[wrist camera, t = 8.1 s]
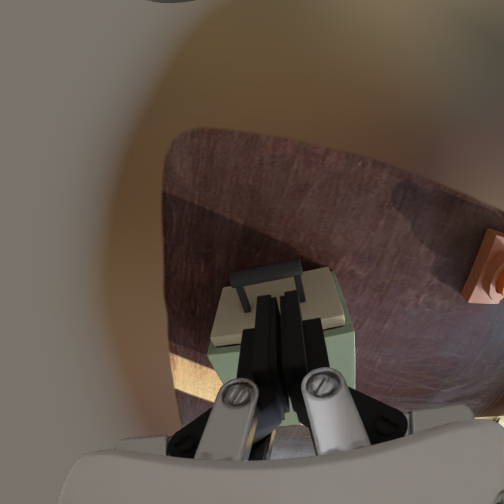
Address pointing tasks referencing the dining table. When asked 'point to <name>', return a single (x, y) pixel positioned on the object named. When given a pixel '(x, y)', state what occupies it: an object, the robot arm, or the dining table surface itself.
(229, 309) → the fryer drawer
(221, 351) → the fryer
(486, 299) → the control block
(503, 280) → the button
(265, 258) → the dining table surface
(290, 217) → the dining table surface
